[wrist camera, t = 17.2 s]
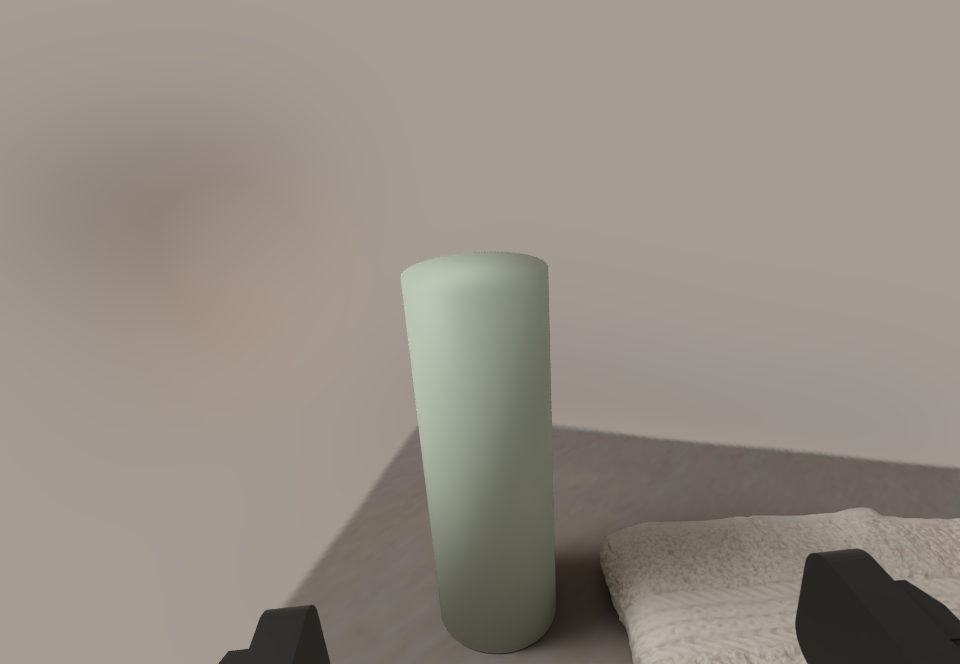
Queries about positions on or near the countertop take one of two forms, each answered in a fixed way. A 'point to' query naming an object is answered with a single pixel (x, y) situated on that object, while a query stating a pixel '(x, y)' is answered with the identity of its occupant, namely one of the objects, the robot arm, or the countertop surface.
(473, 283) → the green cylinder
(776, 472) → the countertop surface
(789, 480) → the countertop surface
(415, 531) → the countertop surface
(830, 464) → the countertop surface
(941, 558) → the washcloth
